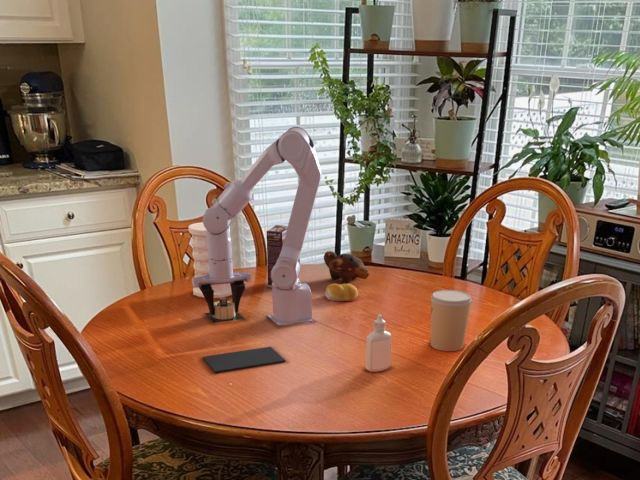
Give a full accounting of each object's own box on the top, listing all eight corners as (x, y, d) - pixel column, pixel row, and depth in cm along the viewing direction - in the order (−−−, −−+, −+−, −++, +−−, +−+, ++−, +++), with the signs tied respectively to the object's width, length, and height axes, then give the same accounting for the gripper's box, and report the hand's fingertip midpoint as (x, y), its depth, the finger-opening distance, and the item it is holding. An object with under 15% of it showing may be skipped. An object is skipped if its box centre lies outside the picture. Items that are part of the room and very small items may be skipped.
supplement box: (283, 289, 203) (282, 232, 195) (267, 288, 204) (265, 230, 196) (292, 281, 211) (290, 225, 202) (276, 280, 211) (274, 224, 203)
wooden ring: (231, 311, 184) (230, 299, 183) (238, 317, 180) (237, 306, 178) (210, 313, 182) (209, 302, 180) (217, 320, 178) (216, 308, 176)
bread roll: (361, 300, 197) (362, 286, 195) (330, 303, 194) (330, 288, 192) (351, 292, 203) (352, 278, 201) (321, 294, 200) (321, 280, 198)
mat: (270, 348, 164) (270, 346, 164) (285, 361, 157) (285, 360, 157) (202, 358, 157) (202, 356, 157) (215, 373, 151) (215, 371, 150)
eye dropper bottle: (391, 372, 154) (394, 318, 148) (366, 372, 153) (368, 318, 147) (389, 364, 158) (391, 311, 151) (363, 364, 157) (365, 311, 151)
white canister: (444, 335, 174) (448, 286, 168) (474, 346, 169) (480, 296, 163) (419, 344, 169) (422, 294, 163) (449, 355, 163) (454, 304, 157)
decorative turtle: (328, 273, 219) (331, 246, 215) (373, 283, 215) (377, 256, 211) (314, 279, 212) (317, 251, 208) (361, 289, 207) (364, 262, 203)
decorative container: (186, 297, 195) (179, 229, 185) (203, 285, 204) (197, 220, 195) (226, 301, 193) (221, 232, 183) (241, 289, 202) (237, 223, 193)
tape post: (234, 311, 186) (233, 292, 183) (244, 320, 180) (243, 301, 177) (204, 315, 182) (202, 295, 180) (213, 324, 176) (212, 304, 174)
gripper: (243, 251, 179) (246, 304, 186) (186, 256, 173) (191, 311, 180) (252, 258, 174) (255, 312, 181) (194, 263, 168) (199, 319, 175)
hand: (224, 312), depth 180 cm, fingers closed on wooden ring, 5 cm apart
